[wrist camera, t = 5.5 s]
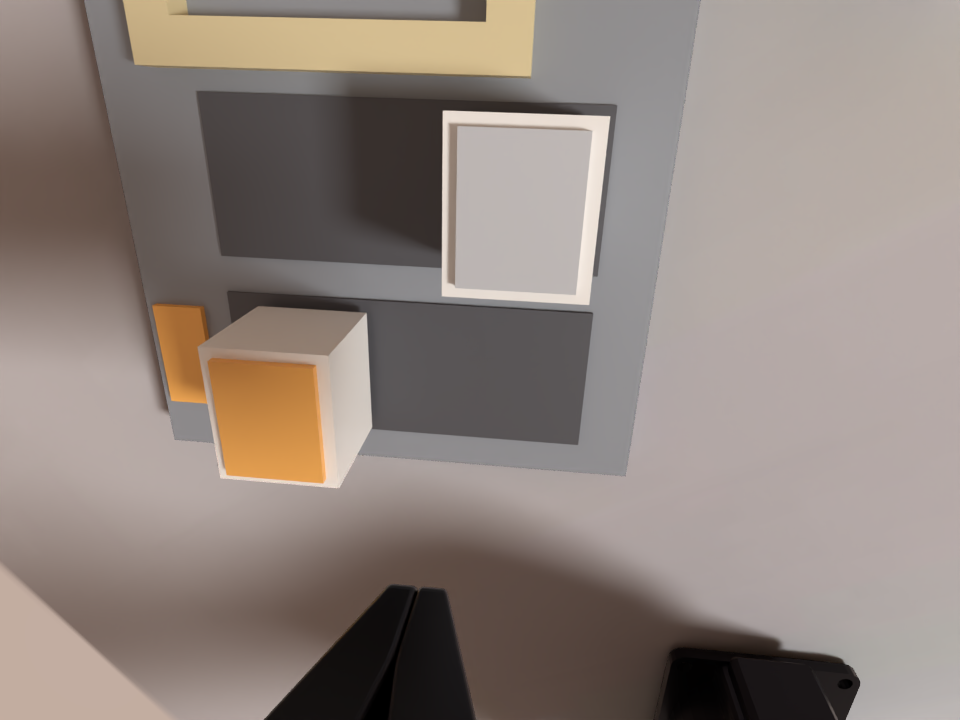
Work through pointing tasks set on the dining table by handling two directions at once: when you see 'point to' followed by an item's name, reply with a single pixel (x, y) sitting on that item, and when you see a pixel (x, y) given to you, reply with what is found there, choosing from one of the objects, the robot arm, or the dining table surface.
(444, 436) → the breaker panel
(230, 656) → the dining table surface
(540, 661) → the dining table surface
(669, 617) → the dining table surface
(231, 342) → the white orange-topped block
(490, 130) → the toggle plain
